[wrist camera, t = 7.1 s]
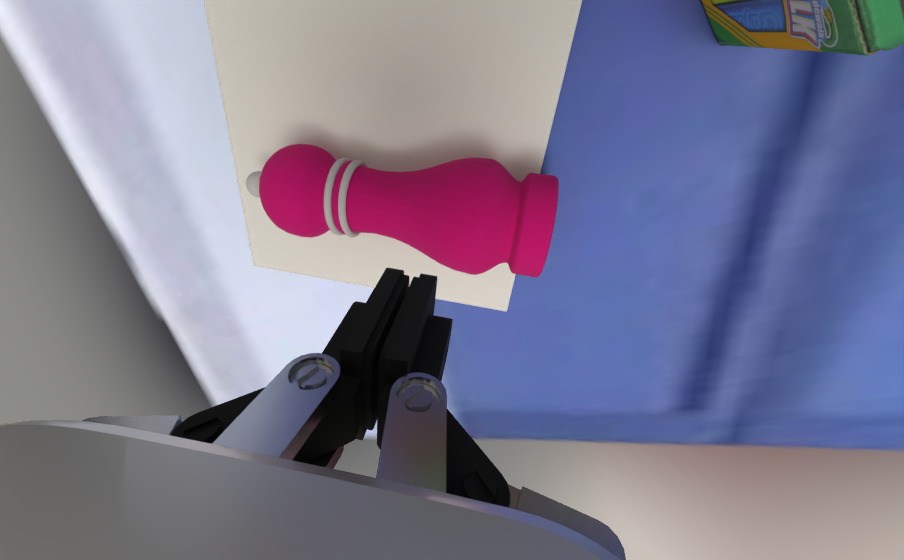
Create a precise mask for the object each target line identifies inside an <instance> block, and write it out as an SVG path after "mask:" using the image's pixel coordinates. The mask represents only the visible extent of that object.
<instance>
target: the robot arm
mask: <svg viewBox="0 0 904 560" xmlns="http://www.w3.org/2000/svg"><path fill="white" fill-rule="evenodd" d="M436 288H437V276H433V275H428V274H422V273H421V274H420V276H419V277H413V279H412V281H411V284H410V286H409V276H408V275H404V270H399V269H394V268H388V267H387V268H386V269H385V271H384V273H383V274H382V276H381V278H380V280H379V281H378V283H377V285H376V287H375V288H374V290H373V292H372V294H371V295H370V297H369V299H368V301H367V302H366V303H362V302H357V301H356V302H354V303H353V305H352V306H351V308H350V309H349V311H348V312H347V314H346V316H345V317H344V319H343V320H342V322H341V324H340V325H339V327H338V328H337V330H336V332H335V333H334V335H333V336H332V338H331V340H330V341H329V343H328V344H327V346H326V348H325V349H324V351H323V352H322V354H321V353H311V354H306V355H302V356H300V357H298V358H296V359H294V360H292V361H291V362H290V363H289V364H287V365H286V367H285V368H284V369H283V370H282V371H281V372H280V373H279V374H278V375H277V376H276V377H275V378H274V379H273V380H272V381H271V382H270V383H269V384H268V385H267V386H266V387H265V388H262V389H260V390H257V391H254V392H252V393H249V394H246V395H244V396H241V397H238V398H236V399H233V400H230V401H228V402H225V403H222V404H220V405H217V406H214V407H212V408H209V409H207V410H204V411H201V412H199V413H197V414H194V415H192V416H190V417H189V418H187V419H186V420H181V417H180V416H100V417H93V418H88V419H85V420H82V421H73V420H31V421H23V422H15V423H6V424H0V560H626V558H625V553H624V548H623V546H622V544H621V542H620V541H619V539H618V537H617V536H616V534H615V533H614V532H613V531H612V530H611V529H610V528H609V527H608V526H606V525H605V524H603V523H602V522H600V521H599V520H597V519H594V518H592V517H590V516H588V515H586V514H583V513H581V512H579V511H577V510H574V509H572V508H570V507H568V506H565V505H563V504H561V503H559V502H556V501H554V500H552V499H550V498H548V497H545V496H543V495H541V494H539V493H536V492H534V491H532V490H530V489H527V488H525V487H522V489H521V490H519V489H517V488H515V487H513V486H511V485H508V483H507V482H506V480H505V479H504V477H503V476H502V474H501V473H500V472H499V470H498V469H497V468H496V467H495V466H494V464H493V463H492V462H491V461H490V460H489V458H488V457H487V456H486V455H485V454H484V452H483V451H482V450H481V449H480V448H479V446H478V445H477V444H476V443H475V442H474V440H473V439H472V438H471V437H470V436H469V434H468V433H467V432H466V431H465V430H464V428H463V427H462V426H461V425H460V424H459V422H458V421H457V420H456V419H455V418H454V416H453V415H452V414H451V413H450V412H449V410H448V409H447V394H446V389H445V387H444V386H443V384H442V382H441V380H442V376H443V371H444V367H445V362H446V357H447V352H448V347H449V341H450V334H451V328H452V319H450V318H444V317H439V316H433V314H434V305H435V297H436ZM376 421H377V445H378V447H379V448H380V450H381V451H380V458H379V464H378V470H377V476H376V478H373V477H368V476H364V475H359V474H354V473H349V472H345V471H340V470H335V469H334V467H335V465H336V464H337V462H338V460H339V459H340V457H341V455H342V453H343V450H344V445H346V444H347V443H349V442H351V441H353V440H355V439H359V440H363V438H364V435H365V433H366V430H367V429H368V430H373V428H374V426H375V423H376Z"/></svg>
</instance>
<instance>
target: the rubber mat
mask: <svg viewBox="0 0 904 560" xmlns="http://www.w3.org/2000/svg"><path fill="white" fill-rule="evenodd" d="M204 4H205V9H206V14H207V20H208V25H209V30H210V36H211V41H212V46H213V52H214V57H215V62H216V68H217V73H218V78H219V84H220V89H221V94H222V100H223V105H224V110H225V116H226V121H227V126H228V132H229V137H230V142H231V148H232V153H233V158H234V164H235V169H236V174H237V180H238V185H239V190H240V196H241V201H242V206H243V212H244V217H245V222H246V228H247V233H248V238H249V244H250V249H251V254H252V260H253V265H254V266H257V267H263V268H268V269H274V270H279V271H285V272H290V273H296V274H301V275H307V276H312V277H318V278H324V279H329V280H335V281H340V282H346V283H351V284H357V285H362V286H368V287H374V288H375V287H376V285H377V283H378V281H379V280H380V278H381V276H382V274H383V273H384V271H385V269H386V268H387V267H388V268H394V269H399V270H404V275H408V276H409V286H410V284H411V281H412V279H413V277H419V276H420V274H421V273H422V274H428V275H433V276H437V288H436V297H435V299H440V300H446V301H451V302H457V303H462V304H468V305H473V306H479V307H485V308H490V309H496V310H501V311H507V308H508V304H509V300H510V296H511V291H512V287H513V283H514V279H515V275H516V274H513V273H512V272H511V271H510V268H509V265H508V263H501V264H498V265H497V266H495V267H493V268H492V269H490V270H488V271H486V272H484V273H481V274H477V275H471V274H467V273H463V272H460V271H456V270H453V269H451V268H448V267H446V266H444V265H442V264H439V263H438V262H436V261H435V260H433V259H431V258H430V257H428V256H427V255H425V254H423V253H422V252H420V251H418V250H417V249H415V248H413V247H411V246H410V245H408V244H406V243H403V242H401V241H398V240H396V239H394V238H390V237H386V236H382V235H379V234H374V233H360V234H359V235H358V236H356V237H349V236H347V235H340V236H339V235H336V234H334V233H333V232H331V230H329V231H328V232H326V233H324V234H322V235H320V236H318V237H312V238H310V237H300V236H296V235H293V234H290V233H287V232H285V231H283V230H282V229H280V228H279V227H277V226H276V225H275V224H274V223H273V222H272V221H271V220H270V218H269V217H268V216H267V214H266V212H265V211H264V209H263V206H262V203H261V199H260V198H257V197H255V196H253V195H252V194H250V192H249V191H248V190H247V187H246V179H247V177H248V176H249V175H250V174H251V173H253V172H256V171H262V170H263V167H264V165H265V163H266V162H267V161H268V159H269V158H270V157H271V156H272V155H273V154H274V153H275V152H276V151H278V150H279V149H281V148H284V147H286V146H289V145H295V144H310V145H314V146H318V147H320V148H322V149H324V150H326V151H328V152H329V153H330V154H331V155H332V156H333V157H334V158H335V159H336V160H339V159H340V158H343V157H345V158H349V159H350V160H357V159H359V160H362V161H364V162H365V163H366V164H367V166H368V168H372V169H377V170H382V171H393V172H408V171H417V170H422V169H426V168H430V167H434V166H437V165H440V164H443V163H447V162H450V161H453V160H458V159H465V158H490V159H494V160H496V161H498V162H499V163H500V164H502V165H503V166H504V167H505V168H506V170H507V171H508V172H509V173H510V174H511V175H512V177H513V178H515V179H516V180H517V181H520V182H522V181H523V180H524V178H525V177H526V176H527V174H529V173H537V174H540V172H541V168H542V164H543V160H544V156H545V152H546V148H547V143H548V139H549V135H550V131H551V127H552V123H553V119H554V115H555V110H556V106H557V102H558V98H559V94H560V90H561V86H562V82H563V78H564V73H565V69H566V65H567V61H568V57H569V53H570V49H571V45H572V41H573V36H574V32H575V28H576V24H577V20H578V16H579V12H580V8H581V4H582V0H204Z"/></svg>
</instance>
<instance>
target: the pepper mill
mask: <svg viewBox="0 0 904 560" xmlns="http://www.w3.org/2000/svg"><path fill="white" fill-rule="evenodd" d="M246 187H247V190H248V191H249V192H250V194H252V195H253V196H255V197H257V198H260V199H261V203H262V206H263V209H264V211H265V212H266V214H267V216H268V217H269V218H270V220H271V221H272V222H273V223H274V224H275V225H276V226H277V227H279V228H280V229H282V230H283V231H285V232H287V233H290V234H293V235H296V236H300V237H310V238H312V237H318V236H320V235H322V234H324V233H326V232H328V231H329V230H331V232H333V233H334V234H336V235H339V236H340V235H347V236H349V237H356V236H358V235H359V234H360V233H374V234H379V235H382V236H386V237H390V238H394V239H396V240H398V241H401V242H403V243H406V244H408V245H410V246H411V247H413V248H415V249H417V250H418V251H420V252H422V253H423V254H425V255H427V256H428V257H430V258H431V259H433V260H435V261H436V262H438V263H439V264H442V265H444V266H446V267H448V268H451V269H453V270H456V271H460V272H463V273H467V274H471V275H477V274H481V273H484V272H486V271H488V270H490V269H492V268H493V267H495V266H497V265H498V264H501V263H508V265H509V268H510V271H511V272H512V273H513V274H519V275H525V276H531V277H538V276H539V275H540V274H541V272H542V270H543V267H544V264H545V261H546V258H547V254H548V250H549V246H550V242H551V237H552V233H553V228H554V223H555V217H556V210H557V201H558V178H557V177H555V176H552V175H544V174H537V173H529V174H527V176H526V177H525V178H524V180H523V181H522V182H520V181H517V180H516V179H515V178H513V177H512V175H511V174H510V173H509V172H508V171H507V170H506V168H505V167H504V166H503V165H502V164H500V163H499V162H498V161H496V160H494V159H490V158H465V159H458V160H453V161H450V162H447V163H443V164H440V165H437V166H434V167H430V168H426V169H422V170H417V171H408V172H393V171H382V170H377V169H372V168H368V166H367V164H366V163H365V162H364V161H362V160H359V159H357V160H350V159H349V158H345V157H343V158H340V159H339V160H336V159H335V158H334V157H333V156H332V155H331V154H330V153H329V152H328V151H326V150H324V149H322V148H320V147H318V146H314V145H310V144H295V145H289V146H286V147H284V148H281V149H279V150H278V151H276V152H275V153H274V154H273V155H272V156H271V157H270V158H269V159H268V161H267V162H266V163H265V165H264V167H263V170H262V171H256V172H253V173H251V174H250V175H249V176H248V177H247V179H246Z"/></svg>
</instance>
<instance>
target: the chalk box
mask: <svg viewBox="0 0 904 560" xmlns="http://www.w3.org/2000/svg"><path fill="white" fill-rule="evenodd" d="M701 1H702V3H703V6H704V8H705V11H706V13H707V16H708V18H709V20H710V23H711V26H712V28H713V31H714V33H715V36H716V38H717V41H718V42H719V44H720V45H722V46H724V45H731V46H746V47H761V48H774V49H791V50H807V51H818V52H837V53H849V54H859V55H872V54H874V53H876V52H877V51H879V50H880V49H882V50H891V49H893V48H895V47H897V46H899V45H902V44H904V0H701Z"/></svg>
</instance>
